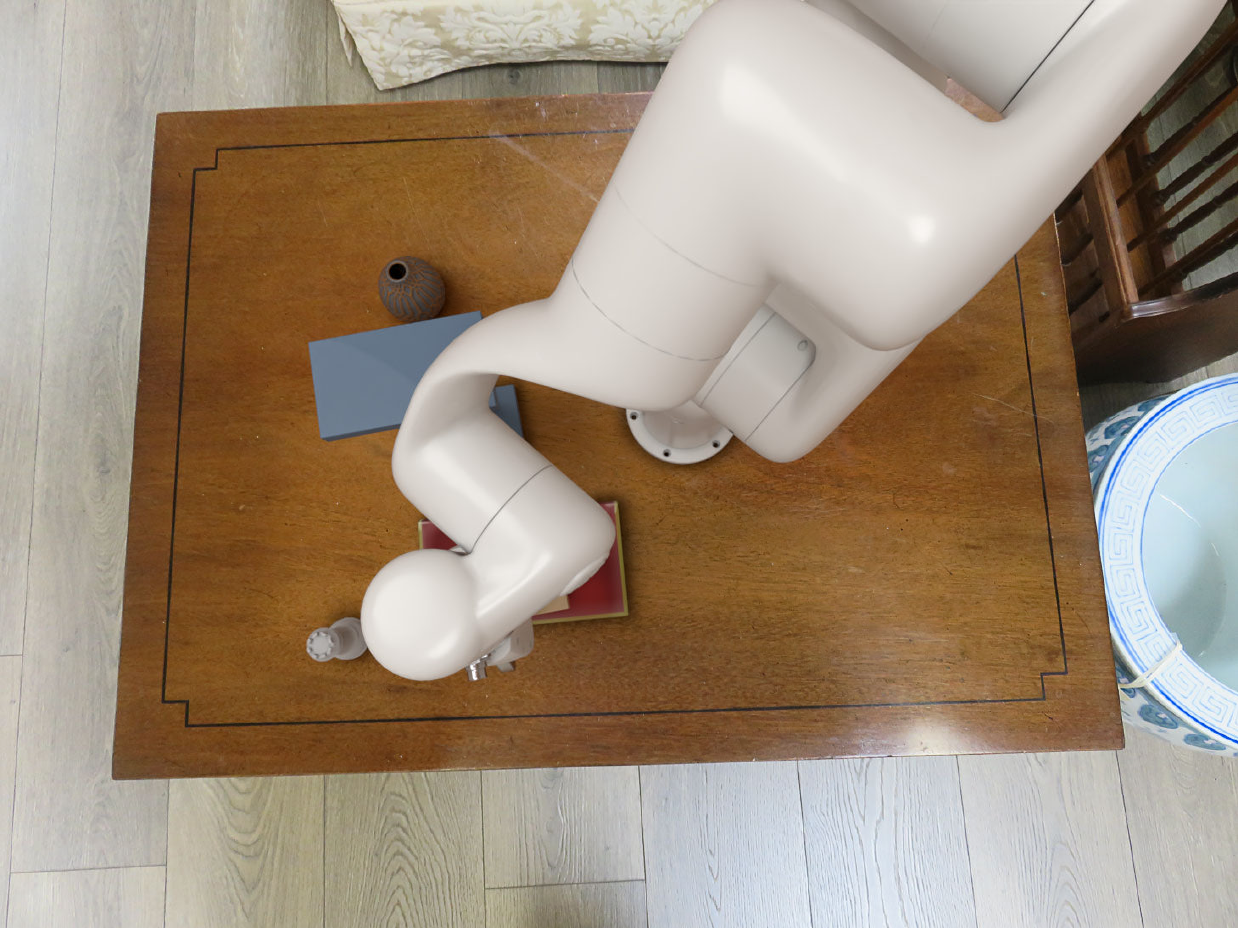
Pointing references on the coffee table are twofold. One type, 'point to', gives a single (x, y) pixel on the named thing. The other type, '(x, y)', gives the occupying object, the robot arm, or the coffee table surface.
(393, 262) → the vase
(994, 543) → the coffee table surface
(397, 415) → the stand
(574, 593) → the hardcover book
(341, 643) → the rook chess piece
